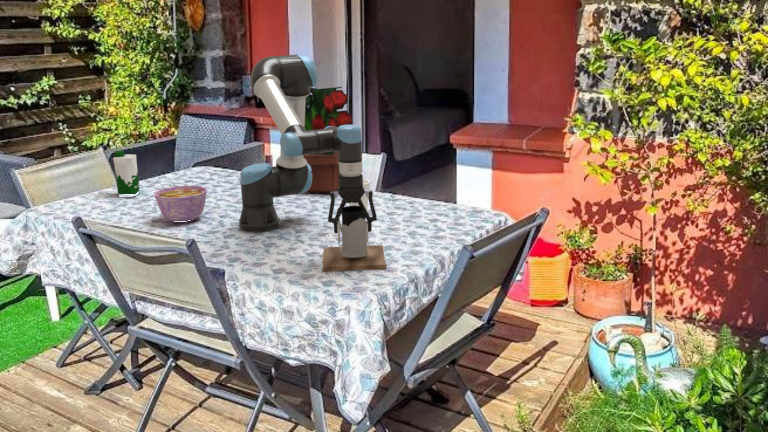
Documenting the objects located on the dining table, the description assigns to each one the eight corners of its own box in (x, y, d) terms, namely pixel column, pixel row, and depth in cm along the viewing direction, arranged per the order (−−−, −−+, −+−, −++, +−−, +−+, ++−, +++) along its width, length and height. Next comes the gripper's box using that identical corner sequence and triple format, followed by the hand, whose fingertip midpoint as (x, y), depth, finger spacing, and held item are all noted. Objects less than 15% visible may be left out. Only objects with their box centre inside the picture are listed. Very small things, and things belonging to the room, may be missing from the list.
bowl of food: (146, 225, 301) (143, 196, 298) (176, 211, 319) (173, 184, 316) (190, 229, 294) (188, 199, 291) (219, 215, 312) (216, 187, 309)
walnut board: (322, 271, 246) (322, 267, 245) (323, 251, 265) (323, 247, 264) (386, 269, 247) (385, 264, 246) (382, 249, 266) (382, 245, 265)
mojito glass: (122, 193, 351) (117, 149, 345) (142, 193, 350) (137, 149, 345) (115, 198, 342) (110, 153, 337) (136, 198, 342) (131, 153, 336)
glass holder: (350, 259, 247) (349, 214, 243) (327, 248, 258) (325, 204, 254) (373, 254, 252) (372, 209, 248) (349, 243, 263) (348, 200, 259)
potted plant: (353, 185, 355) (350, 86, 343) (339, 197, 335) (335, 92, 322) (307, 183, 360) (302, 85, 348) (291, 195, 340) (285, 92, 327)
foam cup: (367, 217, 304) (366, 184, 301) (344, 216, 306) (343, 184, 303) (372, 210, 313) (371, 179, 310) (350, 209, 315) (349, 178, 312)
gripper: (317, 177, 244) (320, 246, 250) (384, 175, 245) (386, 244, 251) (317, 172, 251) (320, 239, 257) (383, 170, 252) (384, 237, 258)
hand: (353, 241), depth 254 cm, fingers closed on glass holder, 8 cm apart
